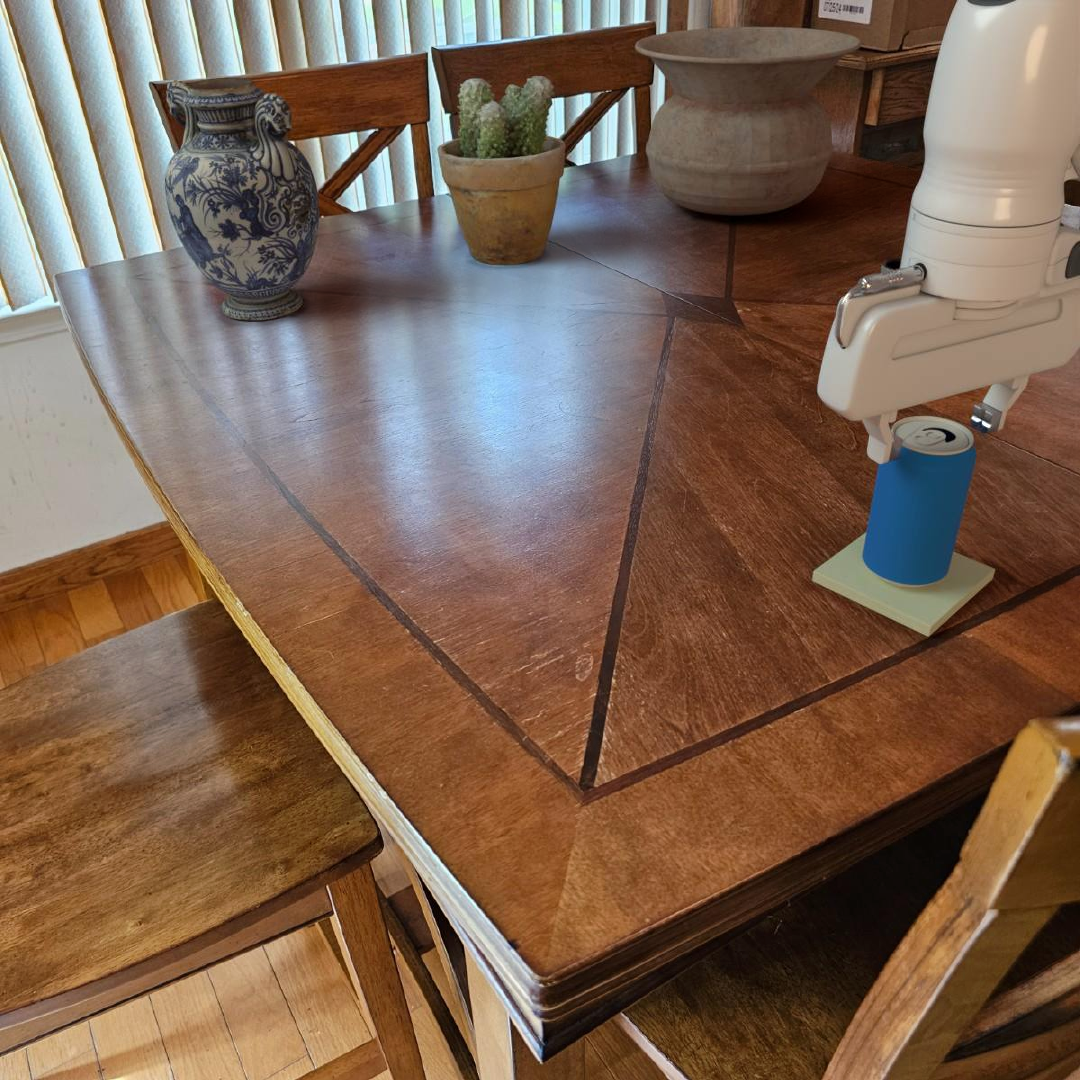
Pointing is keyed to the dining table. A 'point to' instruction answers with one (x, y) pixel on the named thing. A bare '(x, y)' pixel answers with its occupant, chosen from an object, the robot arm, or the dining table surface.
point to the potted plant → (504, 170)
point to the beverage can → (919, 502)
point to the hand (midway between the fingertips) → (934, 443)
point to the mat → (903, 588)
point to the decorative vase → (242, 195)
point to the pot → (742, 116)
